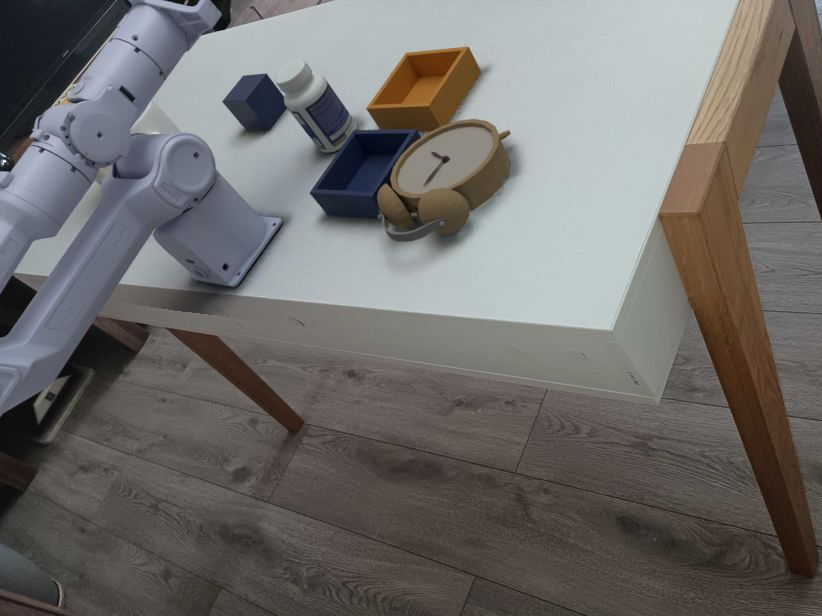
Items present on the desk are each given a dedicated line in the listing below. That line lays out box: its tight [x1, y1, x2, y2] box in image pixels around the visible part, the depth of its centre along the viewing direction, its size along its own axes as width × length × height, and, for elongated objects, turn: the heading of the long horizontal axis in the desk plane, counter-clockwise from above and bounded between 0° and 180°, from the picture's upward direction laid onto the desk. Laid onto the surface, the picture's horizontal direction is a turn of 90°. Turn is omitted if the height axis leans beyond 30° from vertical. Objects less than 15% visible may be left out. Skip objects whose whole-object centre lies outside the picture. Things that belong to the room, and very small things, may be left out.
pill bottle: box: [274, 58, 358, 154], centre depth 85 cm, size 5×5×10 cm
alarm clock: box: [377, 118, 512, 243], centre depth 71 cm, size 11×5×15 cm
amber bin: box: [365, 46, 482, 132], centre depth 83 cm, size 9×9×3 cm
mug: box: [130, 99, 181, 134], centre depth 94 cm, size 12×8×11 cm
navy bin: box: [309, 129, 422, 220], centre depth 78 cm, size 9×9×3 cm
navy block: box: [221, 73, 288, 132], centre depth 99 cm, size 5×5×5 cm
